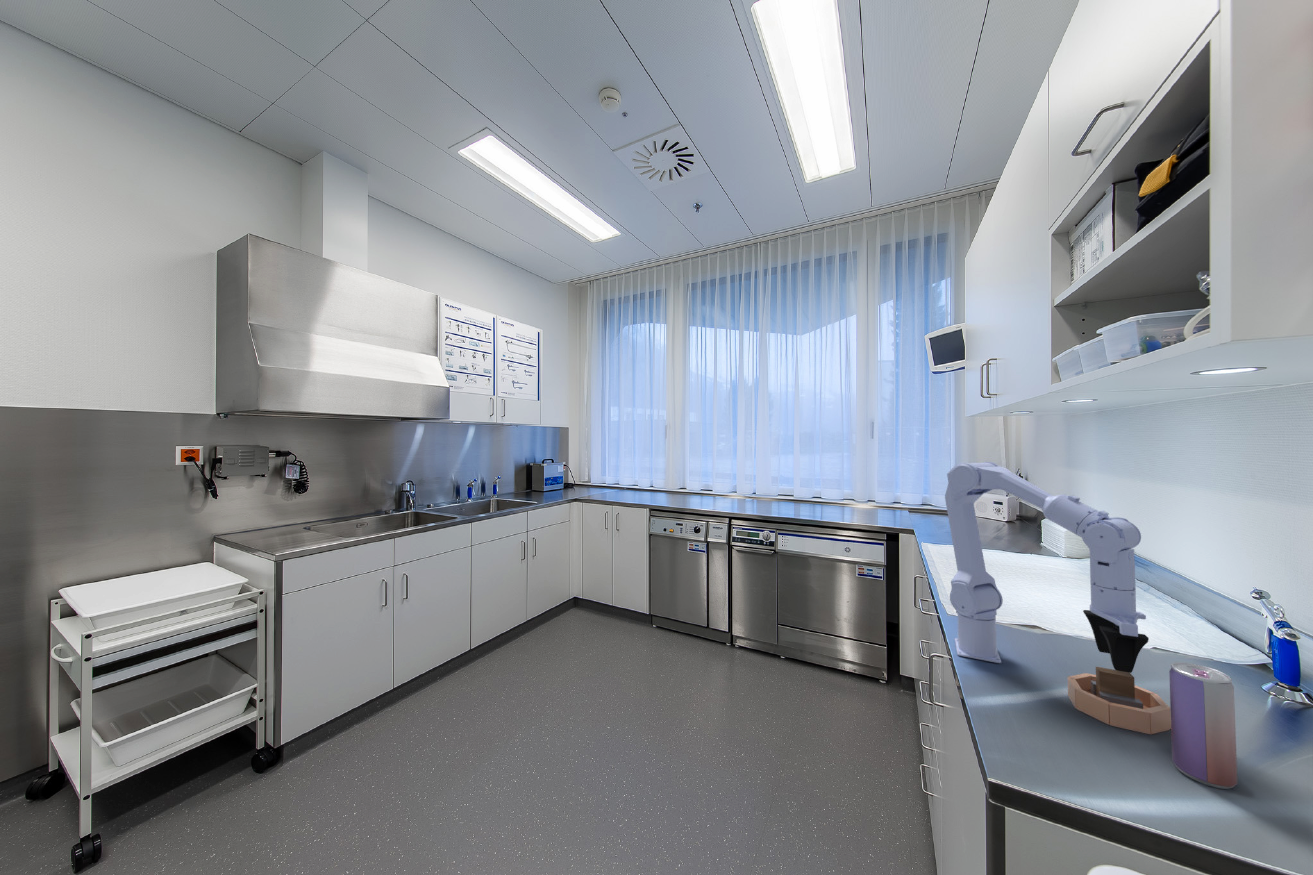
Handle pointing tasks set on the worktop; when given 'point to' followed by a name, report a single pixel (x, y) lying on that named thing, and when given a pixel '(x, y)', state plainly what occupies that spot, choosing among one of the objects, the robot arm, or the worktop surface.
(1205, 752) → the beverage can
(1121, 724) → the tan octagonal tray
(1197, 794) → the worktop surface
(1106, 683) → the brown rectangular block
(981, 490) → the robot arm
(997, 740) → the worktop surface
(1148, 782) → the worktop surface
